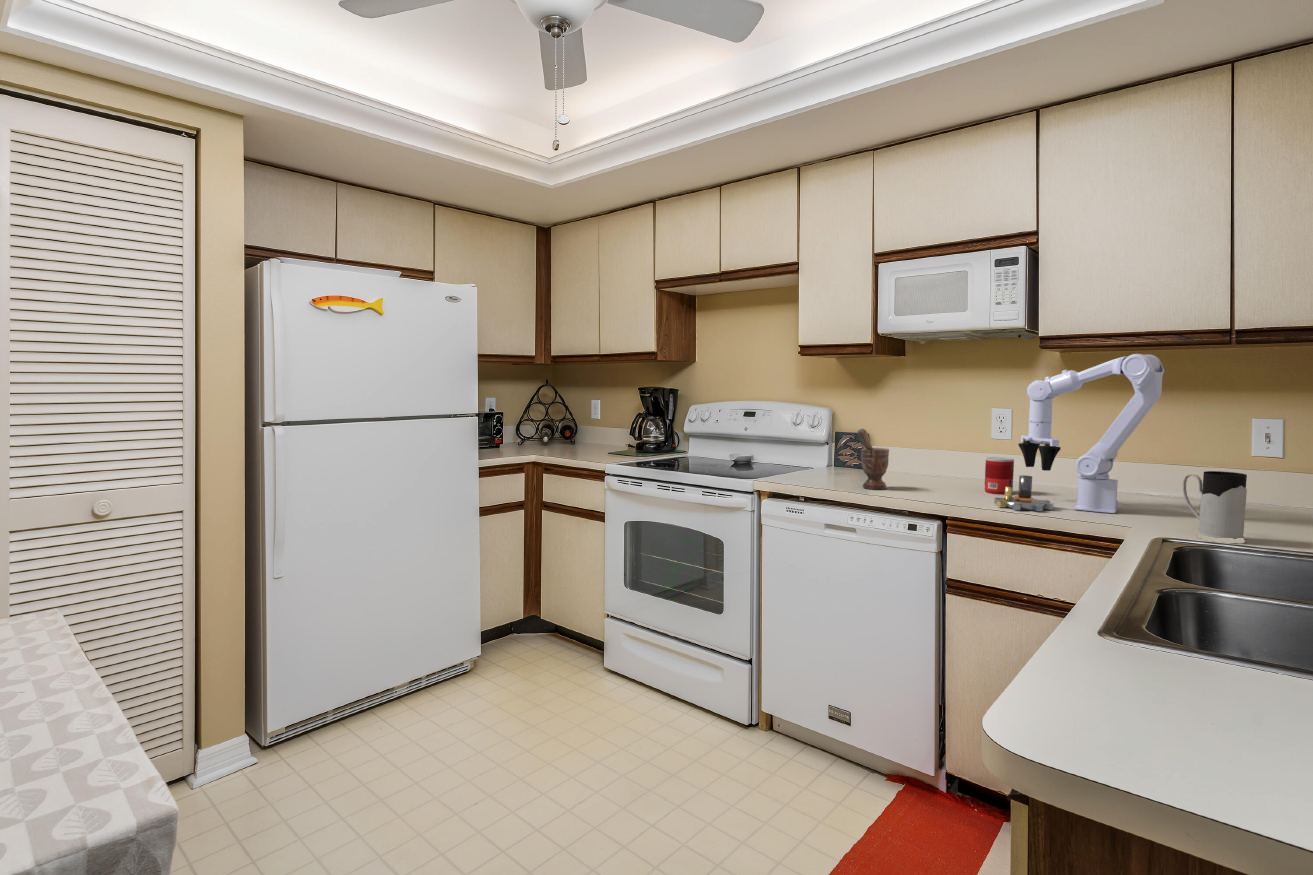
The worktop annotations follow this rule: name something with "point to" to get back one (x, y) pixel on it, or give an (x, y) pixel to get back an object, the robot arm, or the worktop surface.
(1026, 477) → the roller
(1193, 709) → the worktop surface
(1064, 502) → the worktop surface
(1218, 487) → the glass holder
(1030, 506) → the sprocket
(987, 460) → the canned food
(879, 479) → the mortar and pestle
